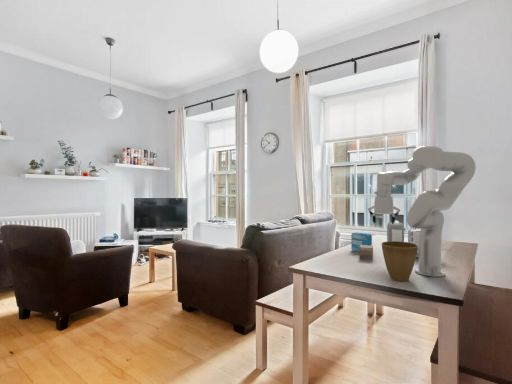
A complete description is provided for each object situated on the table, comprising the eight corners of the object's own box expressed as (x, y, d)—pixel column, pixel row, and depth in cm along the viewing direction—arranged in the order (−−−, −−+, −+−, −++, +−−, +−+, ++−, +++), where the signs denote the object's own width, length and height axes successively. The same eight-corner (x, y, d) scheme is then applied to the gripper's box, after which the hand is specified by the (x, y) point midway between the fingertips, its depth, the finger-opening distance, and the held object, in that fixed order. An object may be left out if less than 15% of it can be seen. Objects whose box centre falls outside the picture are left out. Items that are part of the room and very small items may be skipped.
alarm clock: (404, 255, 182) (404, 222, 182) (389, 254, 185) (389, 222, 185) (400, 249, 199) (400, 219, 199) (386, 248, 202) (386, 219, 202)
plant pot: (383, 272, 146) (383, 240, 145) (418, 277, 138) (418, 243, 138) (378, 280, 133) (379, 245, 133) (416, 286, 125) (417, 248, 125)
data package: (351, 250, 196) (351, 232, 196) (354, 249, 199) (355, 231, 199) (368, 253, 187) (368, 234, 187) (371, 252, 190) (372, 234, 190)
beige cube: (372, 260, 170) (372, 248, 170) (359, 259, 173) (359, 247, 173) (372, 257, 177) (372, 245, 176) (360, 256, 179) (360, 244, 179)
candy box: (431, 256, 179) (431, 229, 178) (436, 259, 173) (436, 231, 173) (407, 256, 180) (407, 229, 180) (411, 258, 174) (411, 230, 174)
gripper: (367, 193, 172) (367, 223, 172) (400, 194, 165) (400, 225, 165) (368, 193, 179) (368, 221, 179) (400, 193, 172) (400, 223, 172)
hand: (383, 223), depth 172 cm, fingers open, 9 cm apart
